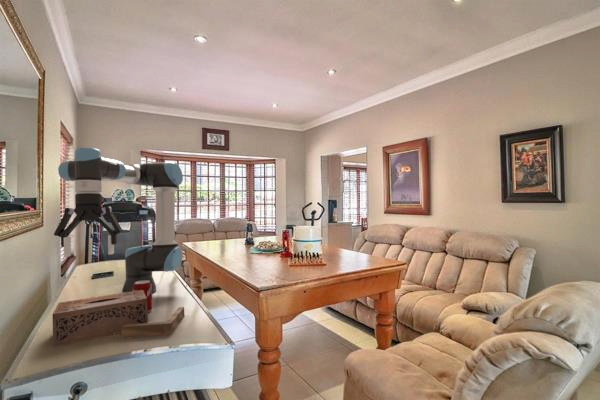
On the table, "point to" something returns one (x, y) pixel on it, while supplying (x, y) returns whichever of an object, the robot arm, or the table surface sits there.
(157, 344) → the table surface
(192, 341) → the table surface
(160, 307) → the table surface
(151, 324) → the walnut fence
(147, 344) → the table surface
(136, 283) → the soda can
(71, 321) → the tissue box cover
